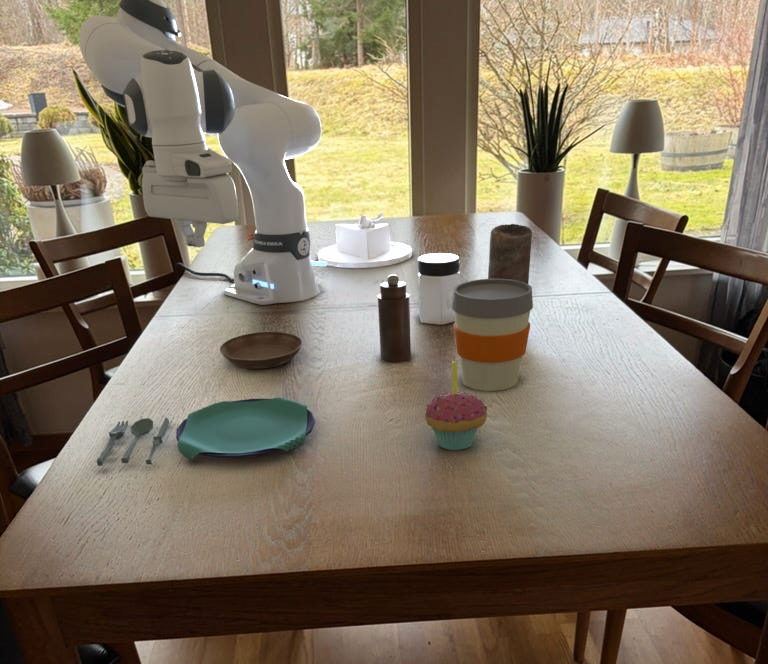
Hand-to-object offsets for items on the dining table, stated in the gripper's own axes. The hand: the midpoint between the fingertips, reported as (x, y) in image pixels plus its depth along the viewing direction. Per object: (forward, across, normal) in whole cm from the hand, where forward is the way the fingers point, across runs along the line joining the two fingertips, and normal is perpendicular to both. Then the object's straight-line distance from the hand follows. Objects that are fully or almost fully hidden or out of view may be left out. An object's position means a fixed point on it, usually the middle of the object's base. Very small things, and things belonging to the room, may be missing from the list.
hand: (195, 246), depth 140 cm
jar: (+19, +29, +35) cm, 49 cm away
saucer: (+19, +13, 0) cm, 23 cm away
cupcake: (+19, +61, -13) cm, 65 cm away
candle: (+19, +47, +29) cm, 58 cm away
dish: (+19, -17, +73) cm, 77 cm away
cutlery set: (+19, +30, -29) cm, 46 cm away
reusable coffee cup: (+19, +54, +10) cm, 58 cm away
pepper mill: (+19, +34, +12) cm, 41 cm away
